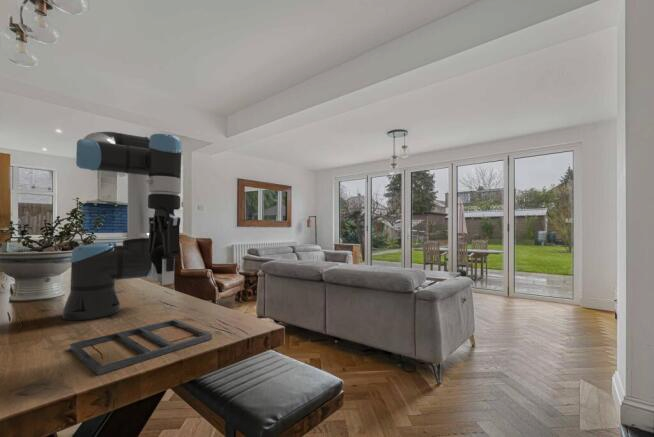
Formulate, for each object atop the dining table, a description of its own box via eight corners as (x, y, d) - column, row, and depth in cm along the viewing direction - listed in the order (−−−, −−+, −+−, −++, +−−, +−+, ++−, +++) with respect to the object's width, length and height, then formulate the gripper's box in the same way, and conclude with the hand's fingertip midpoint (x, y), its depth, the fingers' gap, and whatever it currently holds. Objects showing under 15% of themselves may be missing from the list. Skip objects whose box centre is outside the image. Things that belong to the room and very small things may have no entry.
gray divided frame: (69, 349, 73) (69, 344, 73) (174, 323, 93) (174, 319, 93) (97, 375, 61) (98, 369, 61) (212, 338, 80) (212, 334, 80)
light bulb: (156, 286, 76) (157, 246, 76) (145, 283, 79) (146, 245, 79) (179, 283, 81) (180, 245, 81) (167, 280, 84) (168, 244, 84)
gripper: (135, 194, 84) (133, 279, 83) (165, 190, 72) (162, 289, 71) (164, 197, 89) (162, 276, 89) (196, 193, 77) (194, 285, 77)
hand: (162, 282), depth 80 cm, fingers closed on light bulb, 6 cm apart
